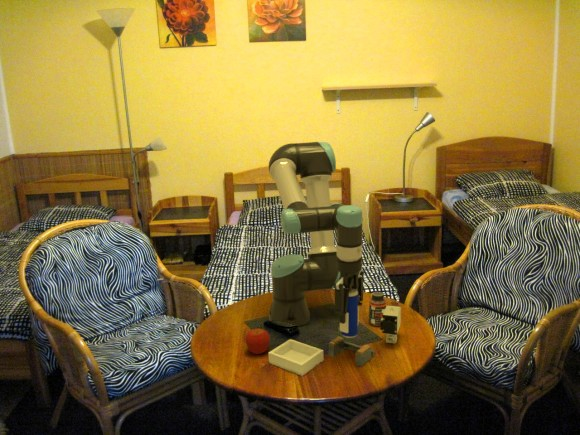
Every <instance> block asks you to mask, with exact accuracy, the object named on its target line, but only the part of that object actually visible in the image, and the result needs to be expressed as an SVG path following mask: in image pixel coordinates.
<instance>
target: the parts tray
mask: <svg viewBox="0 0 580 435" xmlns="http://www.w3.org/2000/svg"><path fill="white" fill-rule="evenodd" d="M267 354H268V363H269V365H273V366H275V367H278V368H279V369H282V370H285V371H288V372H291V373H293V374H296V375H298V376H301V377H303V376H304V375H306V374H307V373H308V372H310V371H311V370H313V369H314V368H316V367H317V366H318V365H320V364H321V363H323V362H324V350H323V349H321V348H319V347H315V346H313V345H309V344H306V343H303V342H300V341H297V340H294V339H291V338H289V339H288V340H286V341H285V342H283V343H282V344H280V345H279V346H277V347H275V348H273V349H272V350H270V351H269V352H268V353H267ZM320 362H321V363H320ZM319 363H320V364H319ZM316 365H317V366H316Z"/></svg>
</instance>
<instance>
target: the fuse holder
mask: <svg viewBox="0 0 580 435" xmlns="http://www.w3.org/2000/svg"><path fill="white" fill-rule="evenodd" d="M343 337H344V336H343ZM343 337H342V336H340V335H339V336H336V337H335V338H333V339H332V340H331V341H329V343H328V357H331V356H332V357H331V358H335V357H337V356H338V355H339V354H341V353H342V352H343V351H345V348H346V350H348V349H349V350H348V351H351V350H352V352H355V366H357V367H359V366H360V368H362V367H363V366H364V365H366V364H367V363H368V362H370V360H372V358H375V351H376V350H373V349H372V346H370V345H368V344H364V345H363V346H361V345H359V344H355V343H352V342H349V341H346V340H345V337H344V338H343ZM341 351H342V352H341ZM340 352H341V353H340ZM337 354H338V355H337ZM336 355H337V356H336Z"/></svg>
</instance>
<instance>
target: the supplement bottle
mask: <svg viewBox="0 0 580 435" xmlns="http://www.w3.org/2000/svg"><path fill="white" fill-rule="evenodd" d="M386 306H387V300H386V299H385V298H384V293H383V292H381V291H373V292H372V294H371V298H370V299H369V300H368V323H369V325H371V326H373V327H380V324H381V319H382V316H383V313H382V310H383V309H386Z"/></svg>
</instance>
